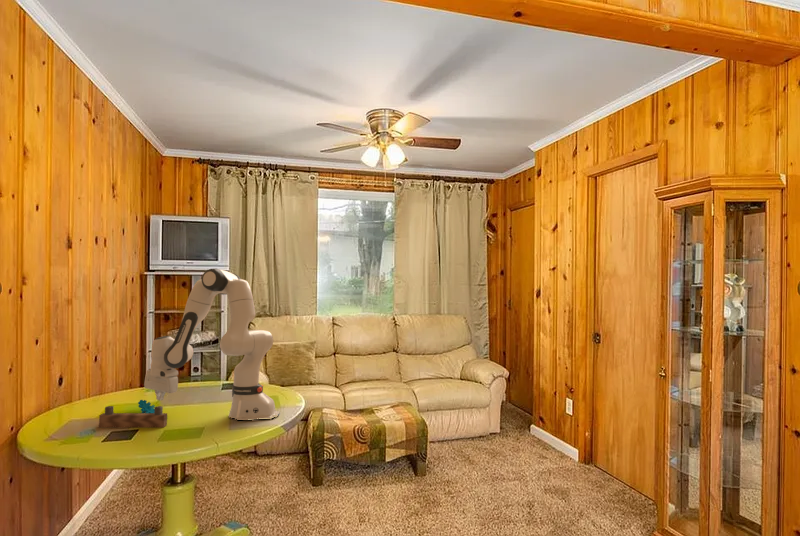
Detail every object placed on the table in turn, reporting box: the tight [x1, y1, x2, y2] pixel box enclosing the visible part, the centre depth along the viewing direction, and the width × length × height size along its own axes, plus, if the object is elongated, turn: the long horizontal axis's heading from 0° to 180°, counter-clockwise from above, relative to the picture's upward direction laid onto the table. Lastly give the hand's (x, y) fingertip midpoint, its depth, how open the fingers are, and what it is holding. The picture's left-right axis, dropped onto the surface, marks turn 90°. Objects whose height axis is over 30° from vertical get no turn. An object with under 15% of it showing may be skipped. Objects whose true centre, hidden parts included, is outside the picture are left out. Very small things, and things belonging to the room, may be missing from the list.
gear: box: [137, 399, 156, 413], centre depth 208 cm, size 11×6×10 cm
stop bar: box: [98, 405, 168, 428], centre depth 194 cm, size 26×3×8 cm, turn 94°
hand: (160, 399), depth 219 cm, fingers closed
